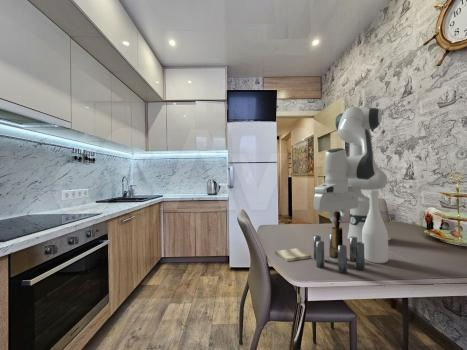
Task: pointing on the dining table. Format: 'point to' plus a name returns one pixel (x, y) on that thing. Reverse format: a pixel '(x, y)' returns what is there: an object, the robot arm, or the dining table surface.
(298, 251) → the birch board
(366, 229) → the wine bottle
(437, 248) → the dining table surface
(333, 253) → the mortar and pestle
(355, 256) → the capsules
